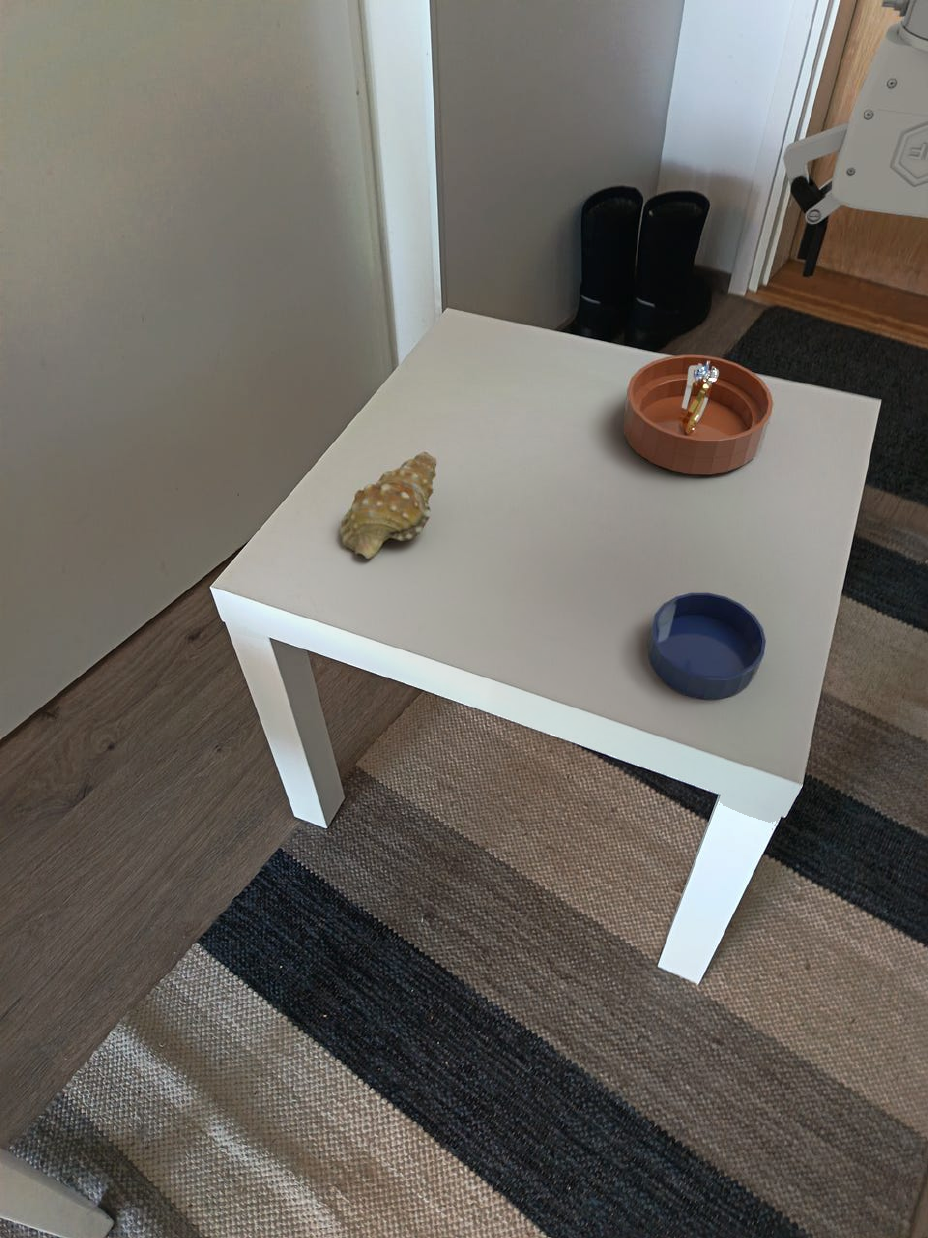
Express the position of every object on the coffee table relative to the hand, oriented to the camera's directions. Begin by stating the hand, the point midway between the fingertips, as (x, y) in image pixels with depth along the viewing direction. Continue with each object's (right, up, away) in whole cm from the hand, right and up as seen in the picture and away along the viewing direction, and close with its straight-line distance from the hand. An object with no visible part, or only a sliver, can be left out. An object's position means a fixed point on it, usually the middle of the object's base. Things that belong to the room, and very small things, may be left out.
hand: (874, 278), depth 65 cm
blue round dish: (-10, -29, +11) cm, 32 cm away
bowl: (-6, -5, +30) cm, 31 cm away
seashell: (-38, -16, +22) cm, 47 cm away
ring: (-6, -5, +30) cm, 31 cm away
